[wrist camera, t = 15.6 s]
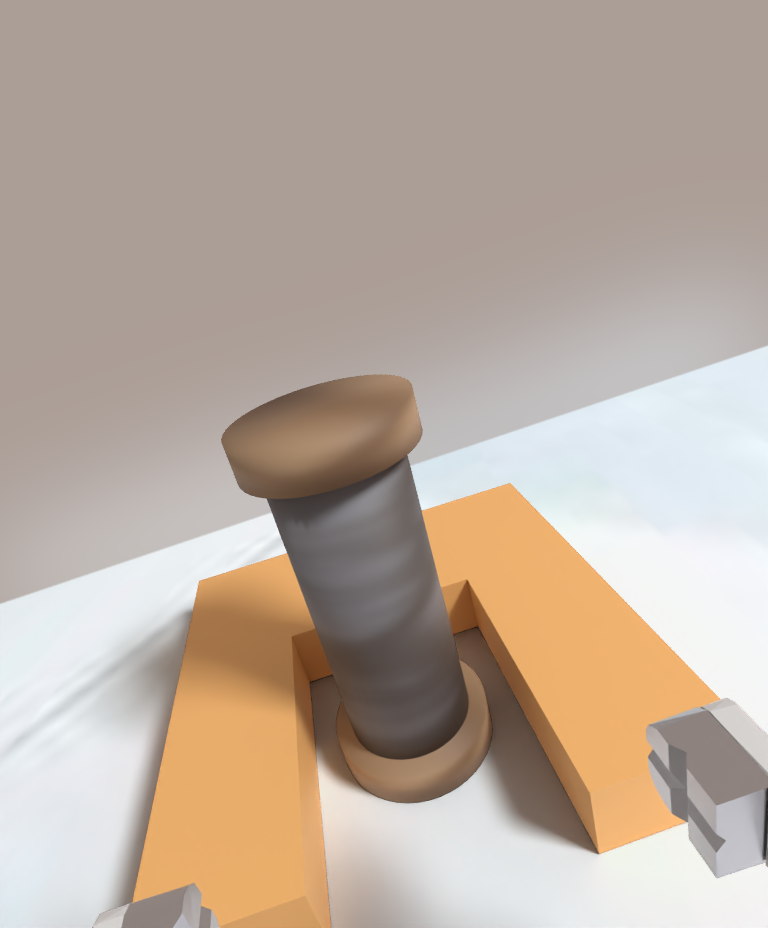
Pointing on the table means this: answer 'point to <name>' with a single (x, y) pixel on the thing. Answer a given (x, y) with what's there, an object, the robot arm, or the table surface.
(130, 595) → the table surface
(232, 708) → the orange notched slab
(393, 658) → the cord spool
